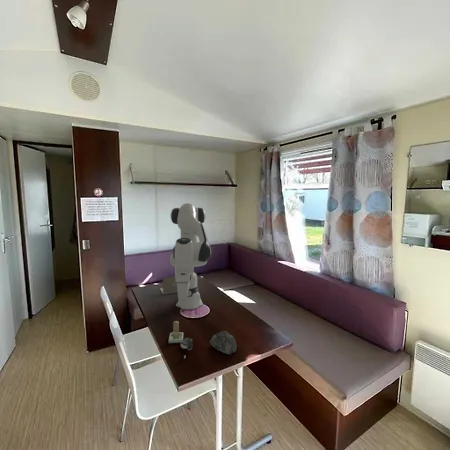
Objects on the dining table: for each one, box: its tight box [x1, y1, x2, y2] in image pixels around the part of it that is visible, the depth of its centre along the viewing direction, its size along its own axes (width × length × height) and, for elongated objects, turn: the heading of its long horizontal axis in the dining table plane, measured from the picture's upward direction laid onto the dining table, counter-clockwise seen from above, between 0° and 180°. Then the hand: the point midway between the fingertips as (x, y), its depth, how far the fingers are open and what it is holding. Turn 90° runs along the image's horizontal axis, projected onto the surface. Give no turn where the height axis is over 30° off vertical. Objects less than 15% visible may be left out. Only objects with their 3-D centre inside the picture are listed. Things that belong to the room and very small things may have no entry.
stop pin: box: [172, 320, 180, 339], centre depth 137 cm, size 3×3×9 cm
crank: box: [182, 337, 193, 351], centre depth 129 cm, size 10×4×6 cm, turn 23°
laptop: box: [159, 276, 178, 295], centre depth 210 cm, size 18×12×13 cm
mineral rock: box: [209, 330, 238, 355], centre depth 130 cm, size 13×11×10 cm
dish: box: [168, 331, 184, 344], centre depth 138 cm, size 7×7×2 cm
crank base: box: [180, 342, 188, 359], centre depth 129 cm, size 14×6×1 cm, turn 4°
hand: (184, 300), depth 122 cm, fingers open, 8 cm apart
